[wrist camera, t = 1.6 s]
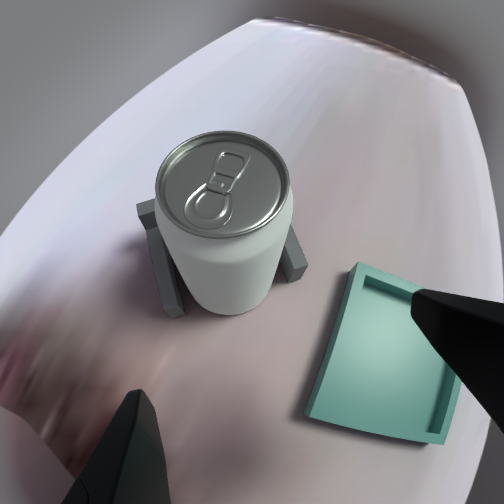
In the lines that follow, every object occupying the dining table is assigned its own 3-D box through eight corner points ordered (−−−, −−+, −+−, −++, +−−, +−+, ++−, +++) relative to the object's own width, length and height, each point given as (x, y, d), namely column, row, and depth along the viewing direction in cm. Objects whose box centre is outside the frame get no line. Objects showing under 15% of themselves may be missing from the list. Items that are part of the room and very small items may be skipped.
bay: (300, 279, 24) (314, 252, 19) (172, 318, 22) (155, 301, 17) (268, 204, 26) (274, 166, 22) (153, 236, 24) (136, 204, 20)
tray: (460, 313, 23) (473, 307, 21) (430, 442, 18) (443, 444, 16) (349, 270, 24) (358, 261, 22) (303, 413, 19) (309, 416, 18)
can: (174, 299, 23) (118, 220, 12) (205, 226, 25) (185, 113, 14) (256, 329, 22) (274, 272, 11) (282, 251, 24) (314, 145, 13)
